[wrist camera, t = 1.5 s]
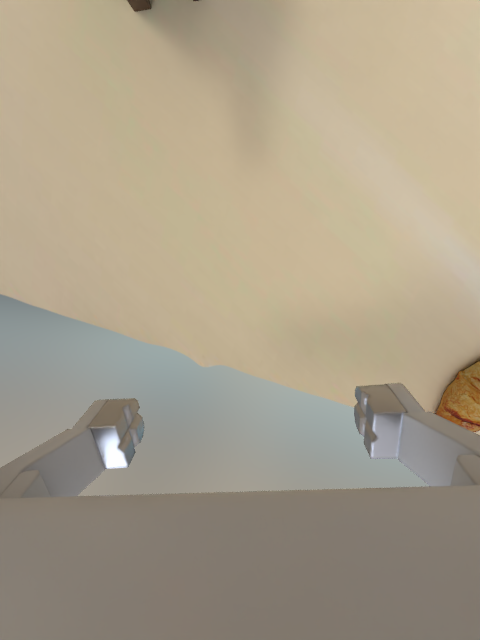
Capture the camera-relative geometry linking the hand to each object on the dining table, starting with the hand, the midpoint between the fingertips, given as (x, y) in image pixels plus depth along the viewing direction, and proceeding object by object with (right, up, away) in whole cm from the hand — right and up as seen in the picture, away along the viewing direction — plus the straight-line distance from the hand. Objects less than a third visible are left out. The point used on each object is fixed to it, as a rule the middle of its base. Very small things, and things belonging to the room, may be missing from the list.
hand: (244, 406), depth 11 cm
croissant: (+40, -9, +40) cm, 57 cm away
